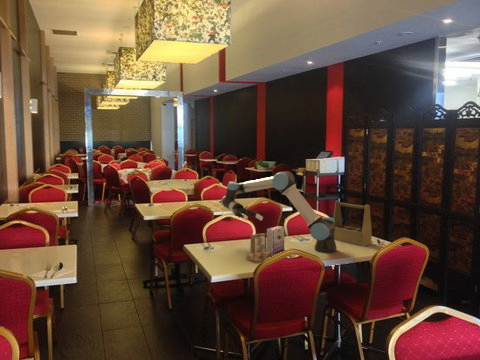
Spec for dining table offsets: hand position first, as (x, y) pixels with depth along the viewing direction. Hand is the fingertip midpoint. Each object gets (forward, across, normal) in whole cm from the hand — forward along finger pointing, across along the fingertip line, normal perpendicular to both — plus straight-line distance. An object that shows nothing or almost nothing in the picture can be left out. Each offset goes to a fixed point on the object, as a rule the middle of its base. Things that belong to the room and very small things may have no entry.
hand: (254, 218), depth 302 cm
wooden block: (+11, -1, -22) cm, 24 cm away
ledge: (+19, +5, -20) cm, 28 cm away
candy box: (+10, -17, -20) cm, 28 cm away
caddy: (+22, -81, -9) cm, 85 cm away
